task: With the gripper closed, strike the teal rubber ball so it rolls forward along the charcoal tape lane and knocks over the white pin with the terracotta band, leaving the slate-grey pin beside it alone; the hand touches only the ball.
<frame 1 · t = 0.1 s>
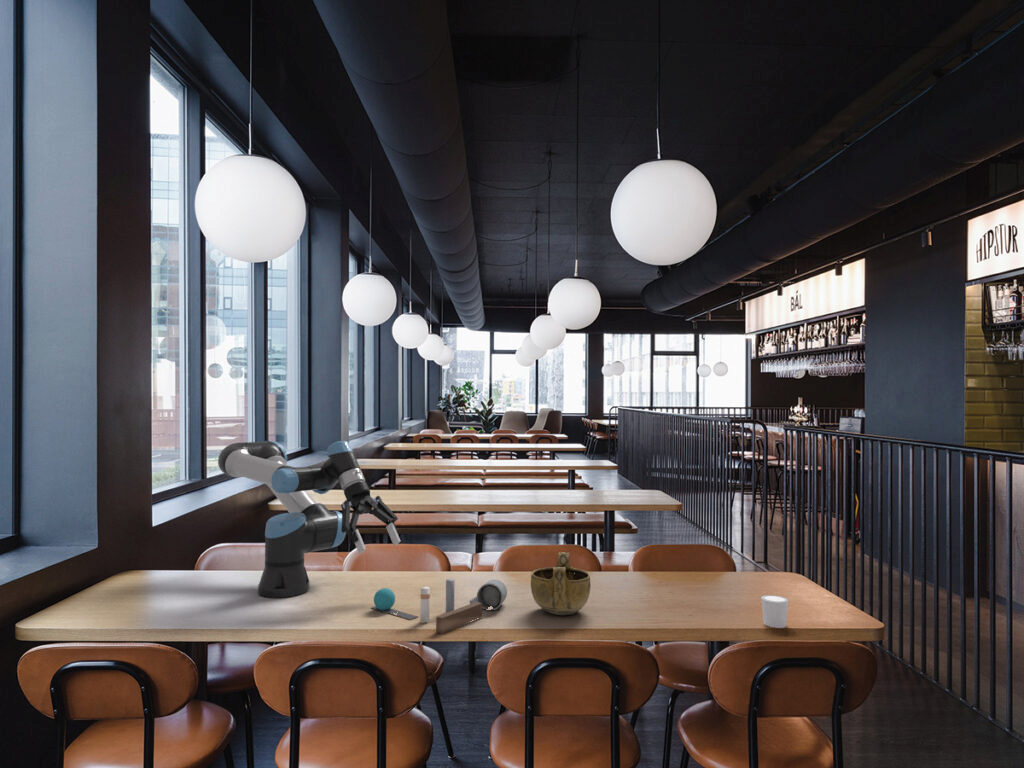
hand: (380, 547, 195), 15 cm above the table, tool tilted 35°, fingers open, 13 cm apart
ceramic bowl: (560, 612, 184), on the table
lane mark: (394, 612, 182), on the table
white cup: (774, 625, 176), on the table
white pin: (424, 621, 175), on the table
grey pin: (449, 612, 183), on the table
backstop: (459, 624, 172), on the table
ceramic mug: (488, 607, 188), on the table
ball: (384, 599, 184), on the table
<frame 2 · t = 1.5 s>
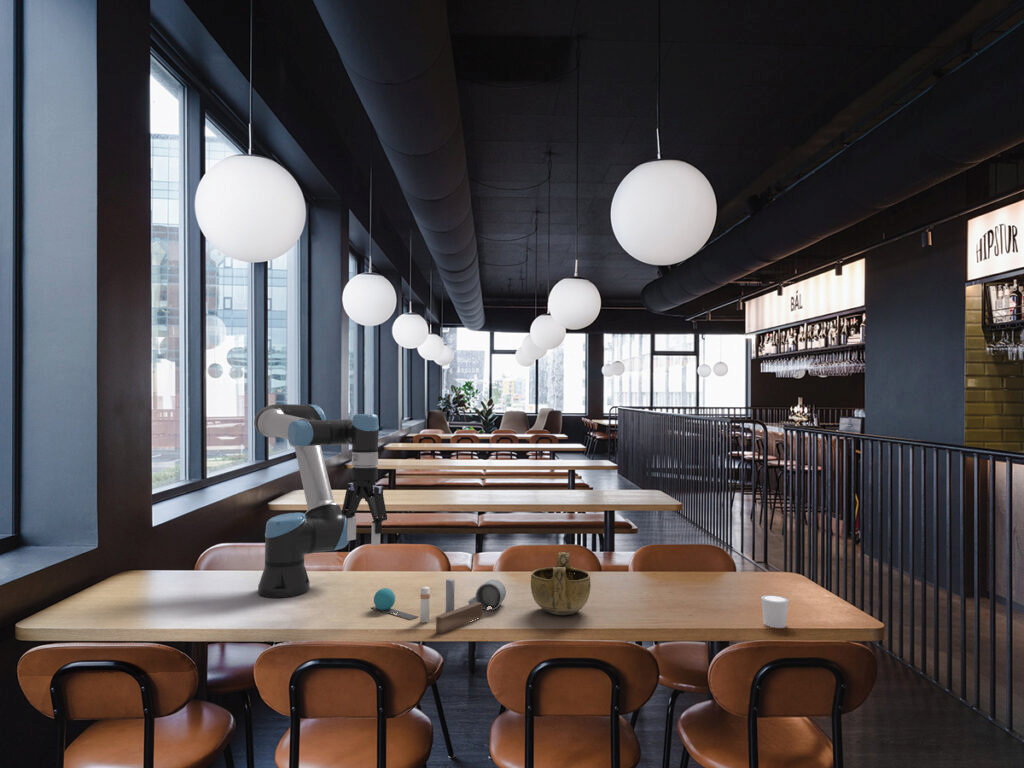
hand: (363, 542, 191), 18 cm above the table, tool pointing down, fingers open, 10 cm apart
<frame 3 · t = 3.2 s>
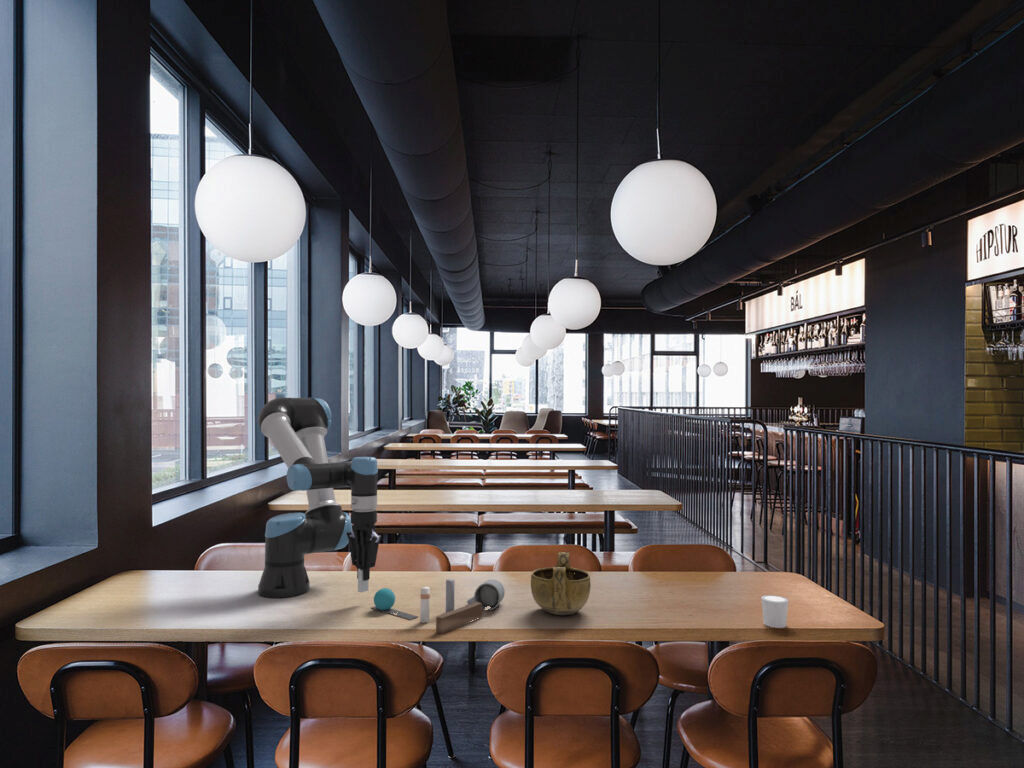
hand: (363, 590, 190), 4 cm above the table, tool pointing down, fingers closed
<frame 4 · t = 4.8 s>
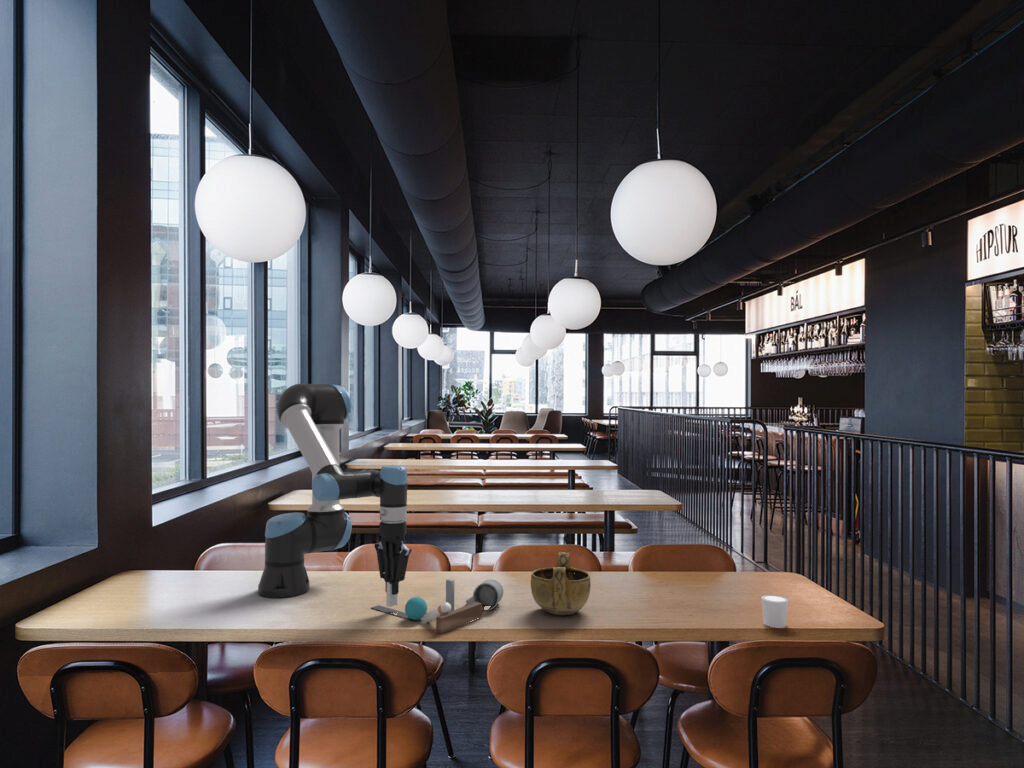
hand: (391, 605, 183), 2 cm above the table, tool pointing down, fingers closed
white pin: (426, 618, 174), point 1 cm above the table, tilted 59°
ball: (416, 608, 177), on the table
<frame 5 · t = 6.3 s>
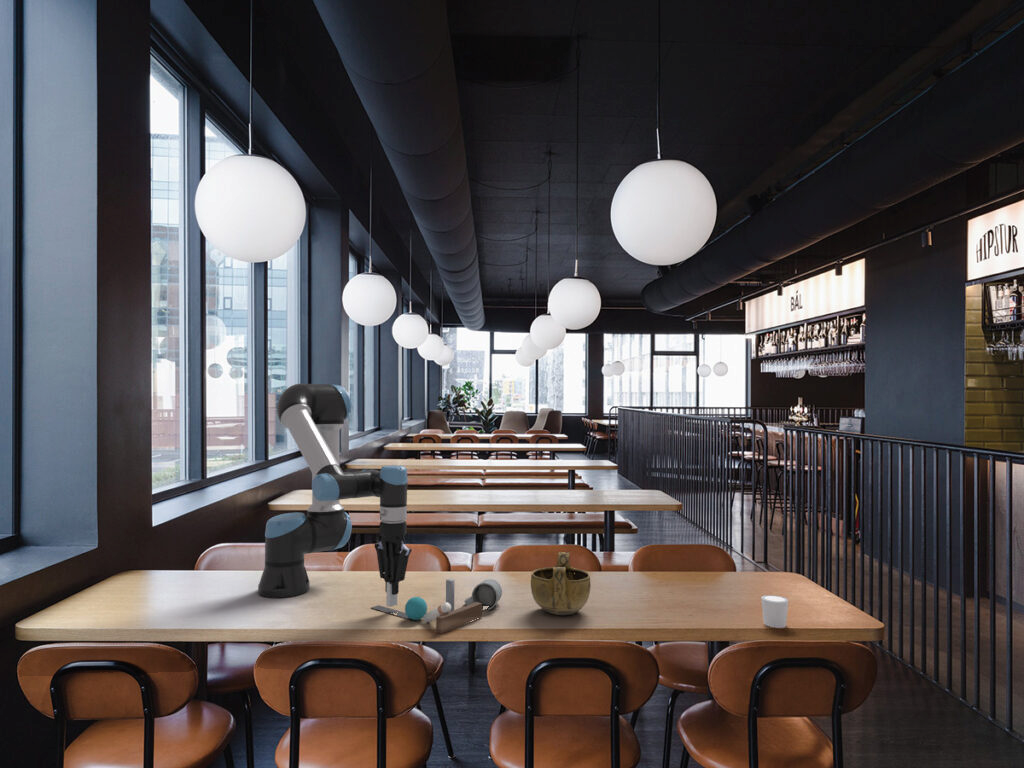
hand: (391, 605, 183), 2 cm above the table, tool pointing down, fingers closed
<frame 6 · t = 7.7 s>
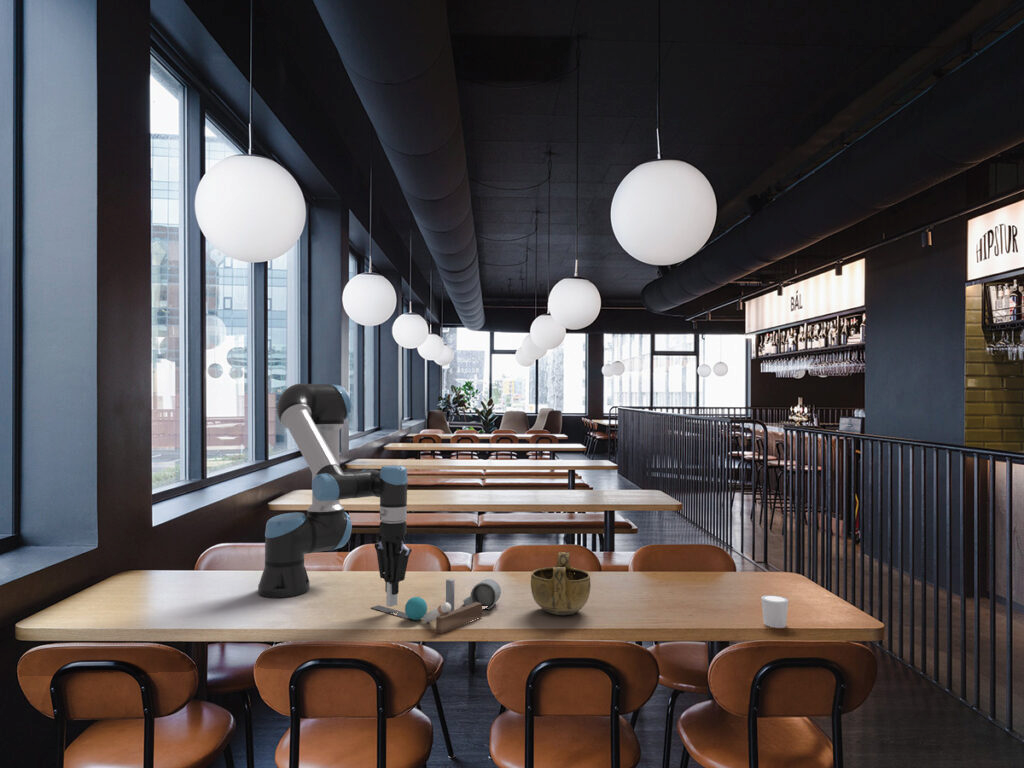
hand: (391, 605, 183), 2 cm above the table, tool pointing down, fingers closed
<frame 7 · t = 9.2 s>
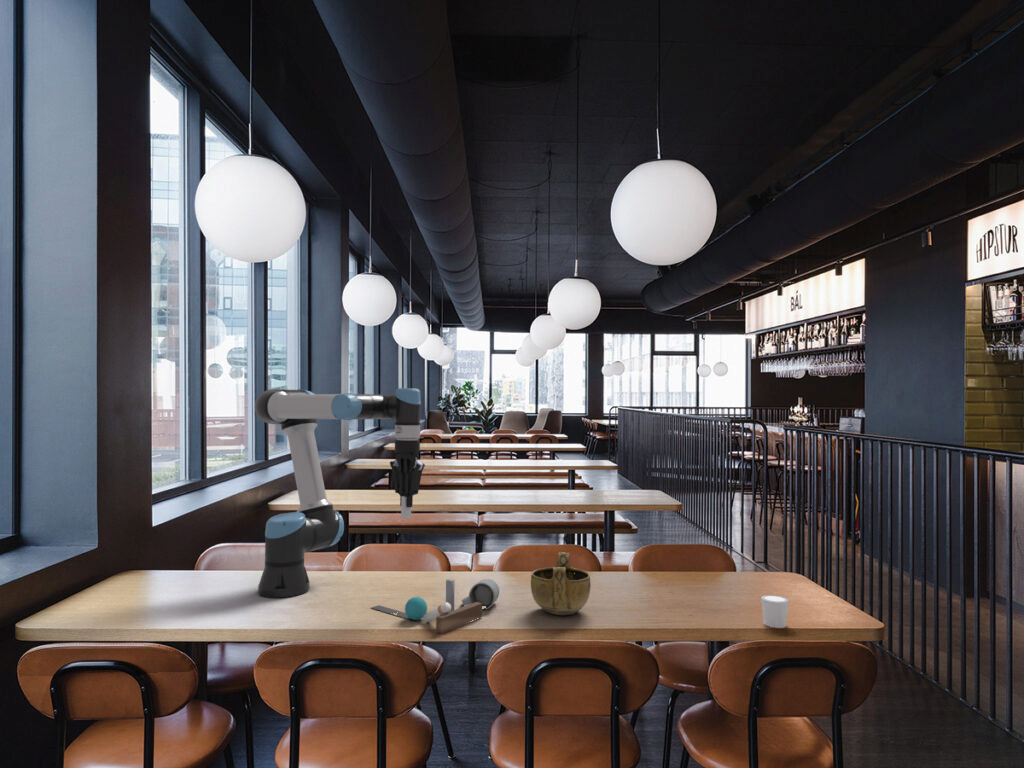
hand: (406, 517, 195), 24 cm above the table, tool pointing down, fingers closed
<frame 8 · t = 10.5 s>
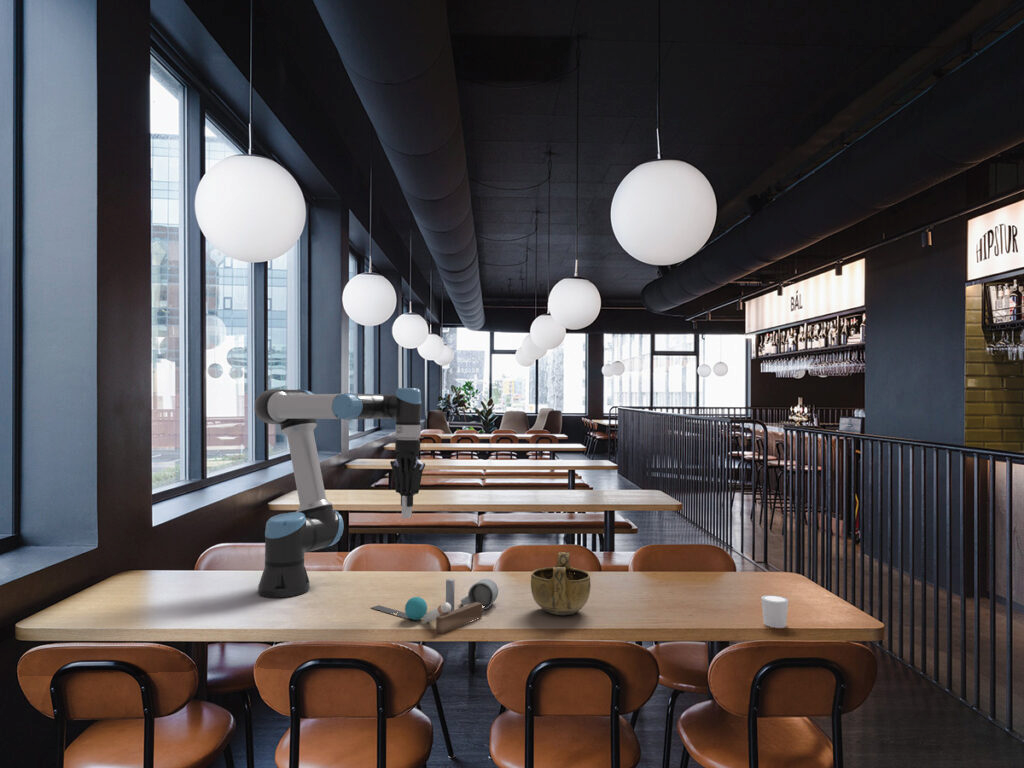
hand: (406, 517, 196), 24 cm above the table, tool pointing down, fingers closed
at the end: white pin tilted 59°; white pin never touched the robot; ball moved 12.8 cm from its start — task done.
